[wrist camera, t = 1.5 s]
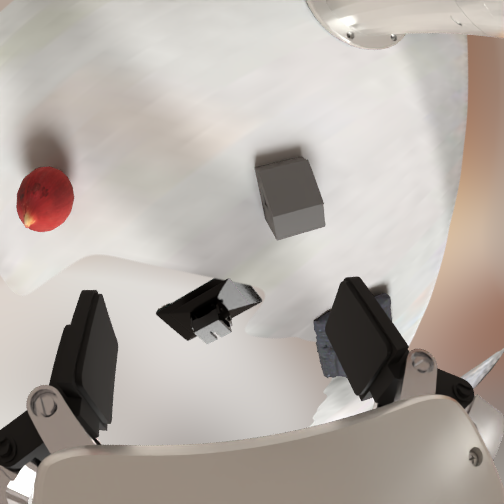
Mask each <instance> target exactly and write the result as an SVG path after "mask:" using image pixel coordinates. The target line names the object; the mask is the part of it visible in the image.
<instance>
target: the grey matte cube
mask: <svg viewBox="0 0 504 504" xmlns="http://www.w3.org/2000/svg"><path fill="white" fill-rule="evenodd" d="M255 172H256V176H257V181H258V186H259V190H260V195H261V200H262V205H263V210H264V215H265V219H266V221H267V223H268V225H269V227H270V229H271V230H272V232H273V234H274V236H275V238H276V239H277V240H280V239H284V238H287V237H291V236H294V235H297V234H301V233H304V232H308V231H311V230H315V229H318V228H322V227H325V218H324V207H323V204H324V203H323V200H322V197H321V194H320V191H319V188H318V186H317V183H316V180H315V177H314V175H313V172H312V169H311V167H310V164H309V161H308V159H307V160H306V159H305V158H303V157H298V158H293V159H289V160H285V161H280V162H276V163H272V164H268V165H264V166H260V167H256V168H255Z"/></svg>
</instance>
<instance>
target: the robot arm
mask: <svg viewBox="0 0 504 504" xmlns="http://www.w3.org/2000/svg"><path fill="white" fill-rule="evenodd" d="M306 1H307V3H308V6H309V8H310V10H311V11H312V13H313V14H314V16H315V18H316V19H317V20H318V21H319V22H320V24H321V25H322V26H323V27H324V28H325V29H326V30H327V31H329V32H330V33H331V34H332V35H333V36H335V37H336V38H338V39H339V40H341V41H343V42H345V43H347V44H349V45H351V46H354V47H357V48H361V49H368V50H380V49H385V48H389V47H391V46H394V45H396V44H397V43H398V42H399V41H401V40H402V39H403V37H404V36H405V35H406V34H410V33H451V34H470V35H480V36H489V37H497V38H504V0H306ZM347 35H348V37H347ZM325 332H326V335H327V337H328V339H329V341H330V343H331V345H332V347H333V349H334V351H335V353H336V355H337V357H338V359H339V362H340V364H341V366H342V368H343V370H344V372H345V374H346V376H347V378H348V380H349V382H350V384H351V386H352V389H353V391H354V393H355V394H356V395H357V396H358V395H359V397H360V399H361V401H364V400H367V399H370V398H372V397H373V399H374V401H375V403H374V406H373V409H372V410H370V411H366V412H363V413H360V414H357V415H354V416H350V417H347V418H343V419H340V420H336V421H333V422H329V423H325V424H321V425H317V426H313V427H309V428H304V429H300V430H295V431H290V432H285V433H280V434H275V435H269V436H263V437H257V438H250V439H243V440H235V441H226V442H216V443H205V444H189V445H160V446H159V445H157V446H136V445H102V444H101V442H100V441H99V440H98V438H97V437H98V436H99V430H106V431H107V424H111V421H112V406H113V392H114V381H115V371H116V362H117V353H118V343H117V339H116V336H115V333H114V330H113V327H112V324H111V321H110V318H109V315H108V312H107V308H106V305H105V302H104V298H103V295H102V294H98V292H97V291H96V290H83V291H82V292H81V294H80V297H79V300H78V303H77V306H76V309H75V312H74V315H73V318H72V322H71V325H66V326H65V328H64V330H63V334H62V337H61V341H60V344H59V347H58V351H57V355H56V358H55V362H54V366H53V370H52V375H51V379H50V383H49V385H41V386H39V387H36V388H35V389H34V390H33V391H31V393H30V394H29V396H28V399H27V411H25V412H24V413H23V414H21V415H20V416H19V417H17V418H16V419H15V420H13V421H12V422H11V423H9V424H8V425H7V426H5V427H4V428H2V429H1V430H0V504H28V499H29V496H30V494H31V493H32V491H31V490H30V489H31V488H32V486H33V484H34V487H33V499H32V504H504V487H503V484H502V482H501V479H500V477H499V474H498V471H497V469H496V467H495V464H494V462H493V461H494V458H495V456H496V453H497V450H498V448H499V445H500V442H501V439H502V436H503V433H504V415H503V414H502V413H501V412H500V411H498V410H497V409H496V408H495V407H493V406H492V405H491V404H489V403H488V402H487V401H485V400H484V399H483V398H481V397H480V396H479V395H476V396H474V391H473V388H472V386H471V385H470V384H469V383H468V382H467V381H466V380H464V379H462V378H459V377H457V376H455V375H452V374H450V373H447V372H445V371H442V370H440V369H438V368H437V363H436V360H435V358H434V357H433V356H432V355H431V354H430V353H429V352H427V351H426V350H423V349H414V350H411V351H410V352H409V351H408V347H409V346H408V345H407V343H406V342H405V340H404V339H403V337H402V336H401V334H400V333H399V331H398V330H397V328H396V327H395V326H394V324H393V323H392V321H391V320H390V318H389V317H388V315H387V314H386V313H385V311H384V310H383V308H382V307H381V306H380V304H379V303H378V301H377V300H376V299H375V297H374V296H373V294H372V293H371V292H370V290H369V289H368V288H367V286H366V285H365V284H364V282H363V281H362V279H361V278H360V277H347V278H345V279H344V281H342V282H341V283H340V286H339V289H338V292H337V295H336V298H335V301H334V303H333V306H332V309H331V312H330V315H329V317H328V320H327V323H326V326H325Z"/></svg>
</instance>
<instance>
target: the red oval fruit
mask: <svg viewBox="0 0 504 504" xmlns="http://www.w3.org/2000/svg"><path fill="white" fill-rule="evenodd" d="M73 200H74V194H73V187H72V185H71V183H70V181H69V179H68V177H67V176H66V175H65V174H64V173H63V172H62V171H60V170H58V169H55V168H53V167H50V166H49V167H39V168H37V169H35V170H34V171H32V172H31V173H30V174H28V175H27V176H26V177H25V178H24V179H23V181H22V183H21V185H20V188H19V190H18V193H17V212H18V215H19V218H20V219H21V221H22V222H23V224H24V225H25V227H26V228H29V229H31V230H34V231H37V232H45V231H51V230H53V229H55V228H56V227H58V226H59V225H61V224H62V223H63V222H64V221H65V220H66V218H67V217H68V215H69V214H70V212H71V209H72V205H73Z"/></svg>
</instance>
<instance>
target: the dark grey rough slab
mask: <svg viewBox="0 0 504 504" xmlns="http://www.w3.org/2000/svg"><path fill="white" fill-rule="evenodd" d="M375 299H376V300H377V301H378V303H379V304H380V306H381V307H382V308H383V310H384V311H385V313H386V314H387V315H388V317H389V318H390V320H391V321H392V317H391V308H390V307H391V300H390V297H389V296H388V295H387V294H386V293H382V294H380V295H378V296H375ZM330 312H331V311H330ZM330 312H327V313H326V314H325V315H323V316H321V317H320V318H319V319H318V320H314V330H315V332H316V334H317V337H316V339H317V342H316V346H317V352H318V353H319V359H320V364H321V368H322V371H323V374H324V376H325V377H327V378H328V377H336V376H342V377H346V378H347V376H346V374H345V372H344V370H343V368H342V366H341V364H340V362H339V359H338V357H337V355H336V353H335V351H334V349H333V347H332V345H331V343H330V341H329V339H328V337H327V335H326V332H325V326H326V323H327V320H328V317H329V315H330Z"/></svg>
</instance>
